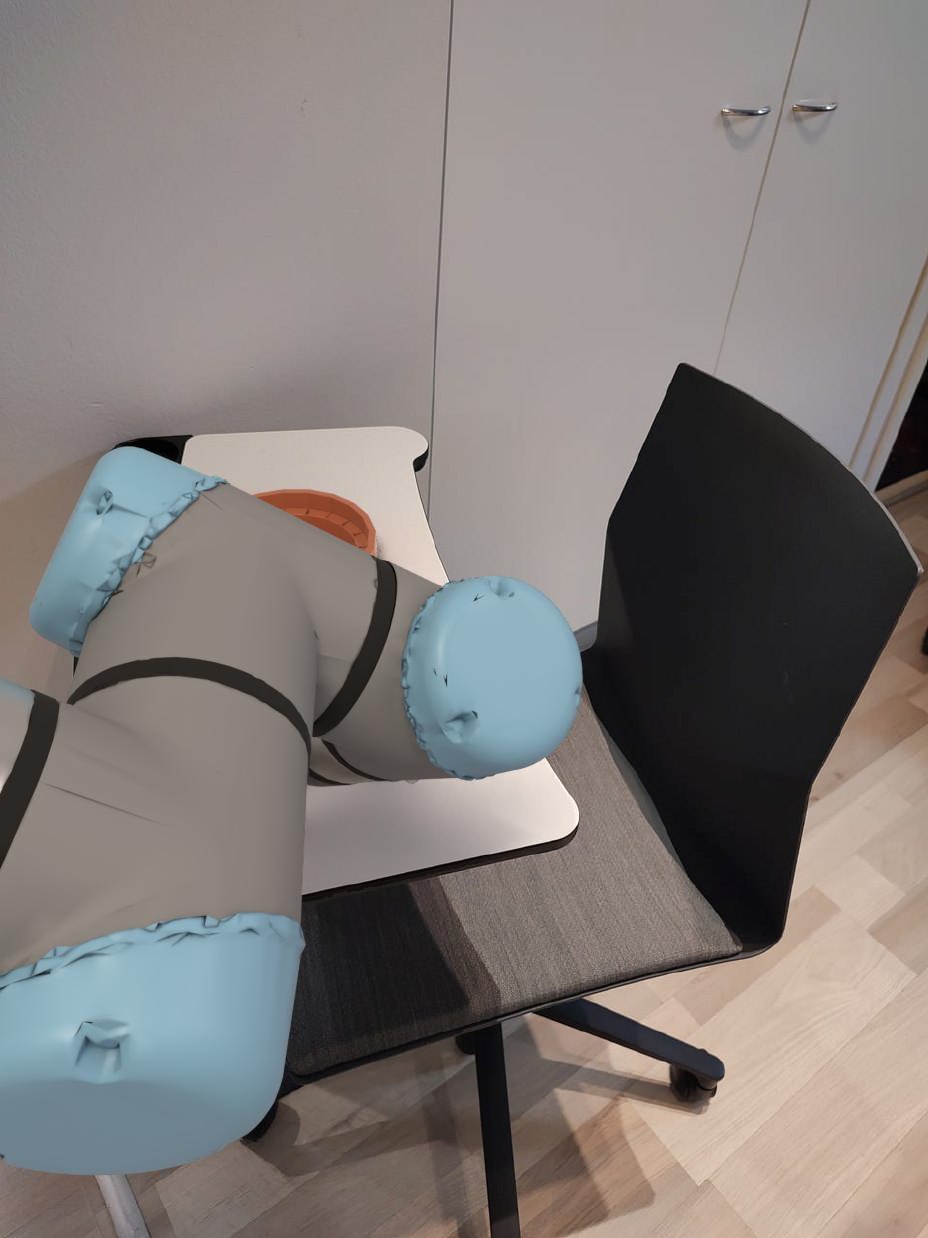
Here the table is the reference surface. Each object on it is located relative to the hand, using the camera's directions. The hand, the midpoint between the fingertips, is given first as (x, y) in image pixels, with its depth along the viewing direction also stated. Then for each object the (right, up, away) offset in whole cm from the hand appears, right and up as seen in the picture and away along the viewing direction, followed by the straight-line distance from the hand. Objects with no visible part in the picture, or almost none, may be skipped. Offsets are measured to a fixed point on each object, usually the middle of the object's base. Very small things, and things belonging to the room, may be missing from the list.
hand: (217, 742), depth 64 cm
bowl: (0, +13, +25) cm, 28 cm away
